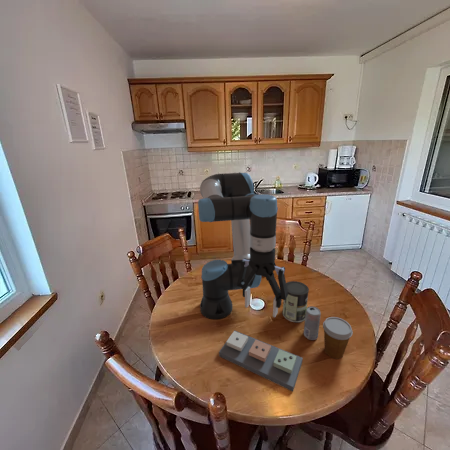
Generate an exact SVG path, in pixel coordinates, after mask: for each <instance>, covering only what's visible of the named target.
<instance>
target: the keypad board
mask: <svg viewBox="0 0 450 450" xmlns="http://www.w3.org/2000/svg"><path fill="white" fill-rule="evenodd" d="M234 331H236V332H238V333H241V334H243V335H245V336H248V341H247V343H246V344H245V346H244V348H243V349H242V351H239V350H236V349H234V348H232V347H230V346H227V345H226V342H225V343H224V344H223V345H222V347H221V348H220V349H219V351H218V356H219V357H220V358H222V359H224V360H226V361H228V362H230V363H232V364H233V365H237V366H239V367H241V368H243V369H244V370H247V371H248V372H250V373H253V374H255V375H258V376H260V377H261V378H264V379H265V380H268V381H269V382H272V383H274V384H276V385H278V386H280V387H283V388H284V389H285V390H289V391H290V392H294V390H295V386H296V383H297V380H298V378H299V377H298V376H299V374H300V371H301V368H302V364H303V357H302V356H299V355H298V354H294V353H291V352H290V351H287V350H284V349H282V348H279V347H276V346H275V345H271V344H269V343H268V342H264V341H262V340H259V339H257V338H254V337H252V336H249V335H247V334H244V333H242V332H241V331H240V332H239V331H237V330H233V332H234ZM231 335H232V333H231V334H230V336H231ZM255 340H258V341H260V342H263V343H265V344H268V345H270V346H271V351H270V353H269V355H268V357H267V359H266V361H265V362H263V361H261V360H259V359H257V358H254V357H252V356H250V355H249V350H250V348H251V347H252V345H253V343H254V342H255ZM279 349H280V350H282V351H285V352H287V353H290V354H292V355H295V356H297V358H296V362H295V365H294V368H293V371H292V374H290V373H288V372H286V371H283V370H281V369H279V368H277V367H274V366H273V364H274V360H275V358H276V356H277V354H278V351H279Z"/></svg>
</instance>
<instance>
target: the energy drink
mask: <svg viewBox="0 0 450 450" xmlns="http://www.w3.org/2000/svg"><path fill="white" fill-rule="evenodd" d="M321 315H322V314H321V310H320V309H319V308H318V307H316V306H310V305H309V306H307V309H306V315H305V320H304V324H303V325H304V326H303V336H304V337H305V338H307V340H310V341H314V340H317V339H318V338H319V330H320V322H321Z"/></svg>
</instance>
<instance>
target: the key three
mask: <svg viewBox="0 0 450 450" xmlns="http://www.w3.org/2000/svg"><path fill="white" fill-rule="evenodd" d="M280 349H281V348H280ZM280 349H279V351H278V354H277V356H276V358H275V360H274V364H273V366H274V367H277V368H279V369H281V370H283V371H286V372H288V373H290V374H292V371H293V368H294V365H295V362H296V358H297V356H298V355H297V356H295V355H296V354H294V355H292V354H293V353H292V354H290V353H291V352H290V353H287V352H288V351H287V352H285V351H286V350H285V351H282V350H283V349H282V350H280Z"/></svg>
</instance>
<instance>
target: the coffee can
mask: <svg viewBox="0 0 450 450" xmlns="http://www.w3.org/2000/svg"><path fill="white" fill-rule="evenodd" d="M286 286H287V291H288V296H287V298H286V300H283V299H282V301H283V303H282V304H283V305H282V316H283V317H284V319H286V320H287V321H289V322H291V323H292V322H293V323H302V322H305V315H306V309H307V308H308V299H309V292H310V289H309V286H308V285H307V284H305V283H304V282H300V281H296V280H295V281H294V280H291V281H287V282H286Z"/></svg>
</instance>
